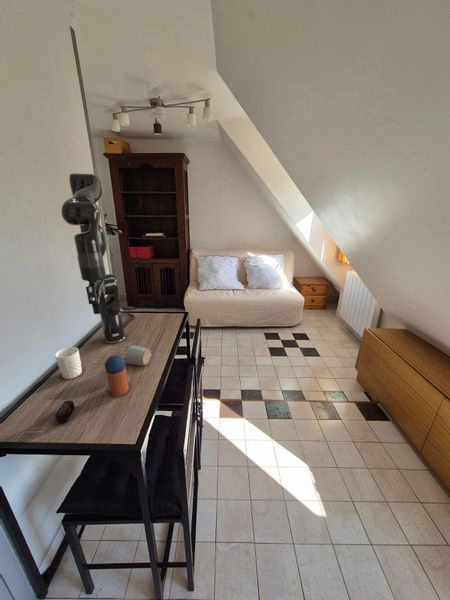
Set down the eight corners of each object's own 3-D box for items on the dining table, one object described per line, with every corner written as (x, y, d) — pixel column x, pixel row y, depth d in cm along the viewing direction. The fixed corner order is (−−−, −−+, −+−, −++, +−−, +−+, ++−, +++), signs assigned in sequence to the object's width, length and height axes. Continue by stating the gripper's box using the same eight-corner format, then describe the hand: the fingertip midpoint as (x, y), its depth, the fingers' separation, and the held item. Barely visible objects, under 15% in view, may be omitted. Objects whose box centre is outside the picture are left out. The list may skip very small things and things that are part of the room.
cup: (112, 385, 93) (108, 365, 90) (129, 383, 94) (126, 362, 91) (109, 397, 87) (104, 375, 84) (127, 394, 88) (124, 373, 85)
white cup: (60, 382, 95) (53, 360, 91) (62, 371, 101) (55, 350, 98) (83, 376, 98) (78, 354, 95) (83, 365, 105) (78, 345, 101)
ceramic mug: (143, 369, 102) (141, 353, 99) (125, 367, 103) (123, 351, 101) (156, 356, 111) (154, 340, 109) (139, 353, 113) (137, 338, 111)
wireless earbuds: (77, 406, 83) (74, 398, 82) (66, 423, 76) (63, 415, 75) (62, 407, 83) (60, 399, 82) (50, 424, 76) (47, 416, 75)
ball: (108, 368, 90) (105, 353, 88) (127, 365, 91) (124, 350, 89) (104, 379, 84) (101, 363, 82) (124, 376, 86) (121, 360, 83)
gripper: (99, 268, 79) (107, 315, 84) (107, 260, 92) (114, 301, 97) (72, 270, 77) (83, 318, 83) (85, 261, 90) (94, 303, 96)
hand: (100, 309), depth 90 cm, fingers open, 8 cm apart
